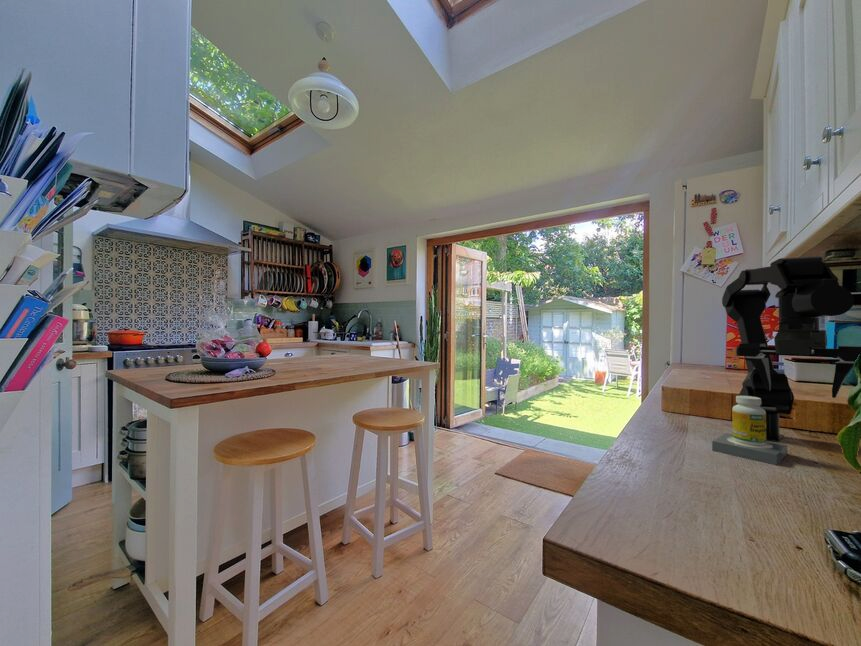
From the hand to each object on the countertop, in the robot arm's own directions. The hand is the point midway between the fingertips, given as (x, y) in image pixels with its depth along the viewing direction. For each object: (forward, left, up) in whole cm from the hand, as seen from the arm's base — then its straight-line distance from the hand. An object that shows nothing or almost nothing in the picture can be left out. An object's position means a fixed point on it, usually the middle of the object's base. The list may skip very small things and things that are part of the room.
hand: (799, 394), depth 71 cm
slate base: (+4, -7, -13) cm, 15 cm away
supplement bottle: (+4, -7, -11) cm, 14 cm away
